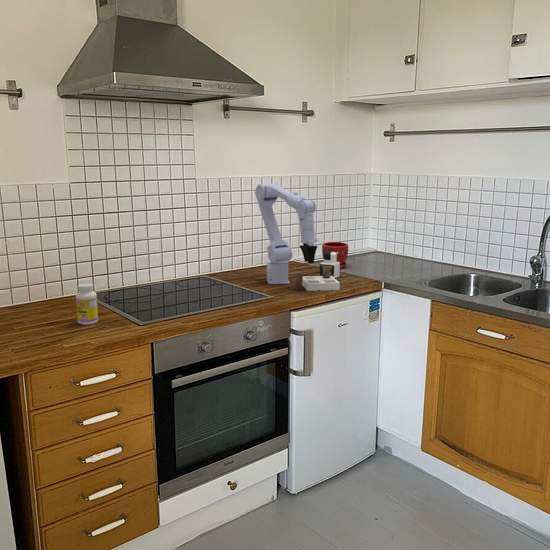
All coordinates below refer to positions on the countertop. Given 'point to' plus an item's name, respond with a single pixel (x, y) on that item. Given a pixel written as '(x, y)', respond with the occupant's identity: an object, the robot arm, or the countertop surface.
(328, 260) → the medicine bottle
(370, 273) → the countertop surface
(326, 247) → the plant pot
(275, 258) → the robot arm
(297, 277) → the walnut pin
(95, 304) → the supplement bottle
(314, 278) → the pin board
